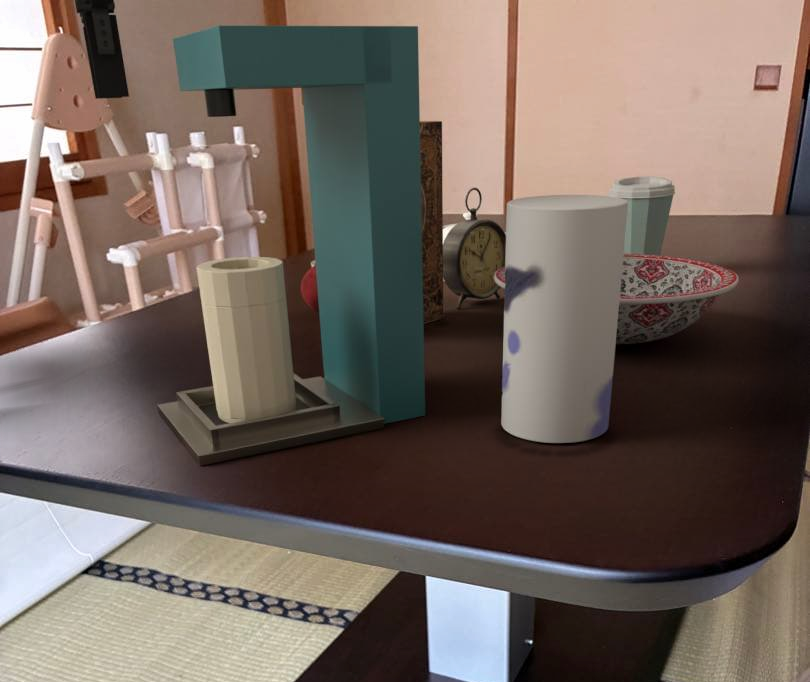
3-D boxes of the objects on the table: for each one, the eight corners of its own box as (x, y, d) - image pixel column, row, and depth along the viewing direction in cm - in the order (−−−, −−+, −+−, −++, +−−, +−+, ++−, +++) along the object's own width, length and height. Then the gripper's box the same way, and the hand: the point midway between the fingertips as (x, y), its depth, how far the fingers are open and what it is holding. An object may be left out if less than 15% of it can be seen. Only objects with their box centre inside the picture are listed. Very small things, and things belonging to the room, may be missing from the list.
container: (482, 418, 82) (485, 198, 72) (569, 402, 85) (583, 190, 76) (536, 452, 74) (547, 209, 64) (630, 433, 77) (653, 200, 68)
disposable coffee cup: (674, 279, 137) (685, 180, 130) (608, 281, 138) (616, 183, 131) (658, 268, 147) (668, 175, 140) (596, 269, 147) (603, 177, 140)
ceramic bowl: (463, 360, 100) (463, 291, 96) (524, 306, 123) (526, 249, 120) (721, 381, 90) (732, 305, 86) (734, 318, 114) (743, 257, 110)
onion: (350, 315, 122) (347, 258, 118) (315, 322, 119) (311, 263, 115) (330, 308, 126) (326, 253, 122) (296, 314, 123) (291, 258, 119)
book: (420, 311, 122) (416, 121, 111) (448, 316, 119) (448, 121, 107) (338, 334, 112) (325, 126, 100) (367, 341, 109) (357, 127, 97)
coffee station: (158, 413, 86) (92, 39, 70) (362, 377, 95) (343, 38, 79) (200, 466, 73) (130, 24, 58) (430, 418, 82) (424, 25, 67)
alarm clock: (459, 312, 121) (459, 192, 114) (434, 307, 125) (432, 189, 117) (511, 300, 128) (514, 185, 120) (485, 295, 131) (487, 183, 124)
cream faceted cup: (208, 407, 84) (187, 262, 77) (280, 394, 87) (266, 253, 80) (231, 430, 78) (210, 275, 71) (307, 416, 81) (294, 265, 74)
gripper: (114, -218, 64) (160, 95, 74) (104, -138, 85) (141, 97, 95) (9, -225, 62) (71, 98, 72) (25, -142, 83) (72, 99, 93)
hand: (111, 98), depth 84 cm, fingers open, 13 cm apart
